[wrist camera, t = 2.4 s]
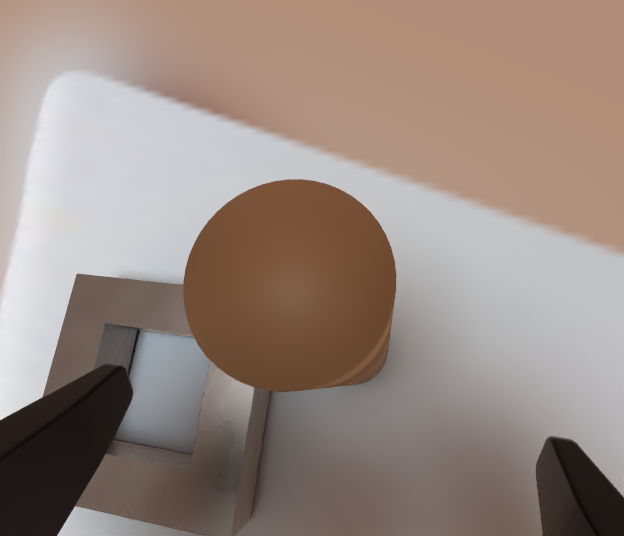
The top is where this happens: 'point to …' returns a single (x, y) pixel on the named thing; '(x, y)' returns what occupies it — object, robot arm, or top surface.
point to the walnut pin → (292, 288)
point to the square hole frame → (154, 461)
